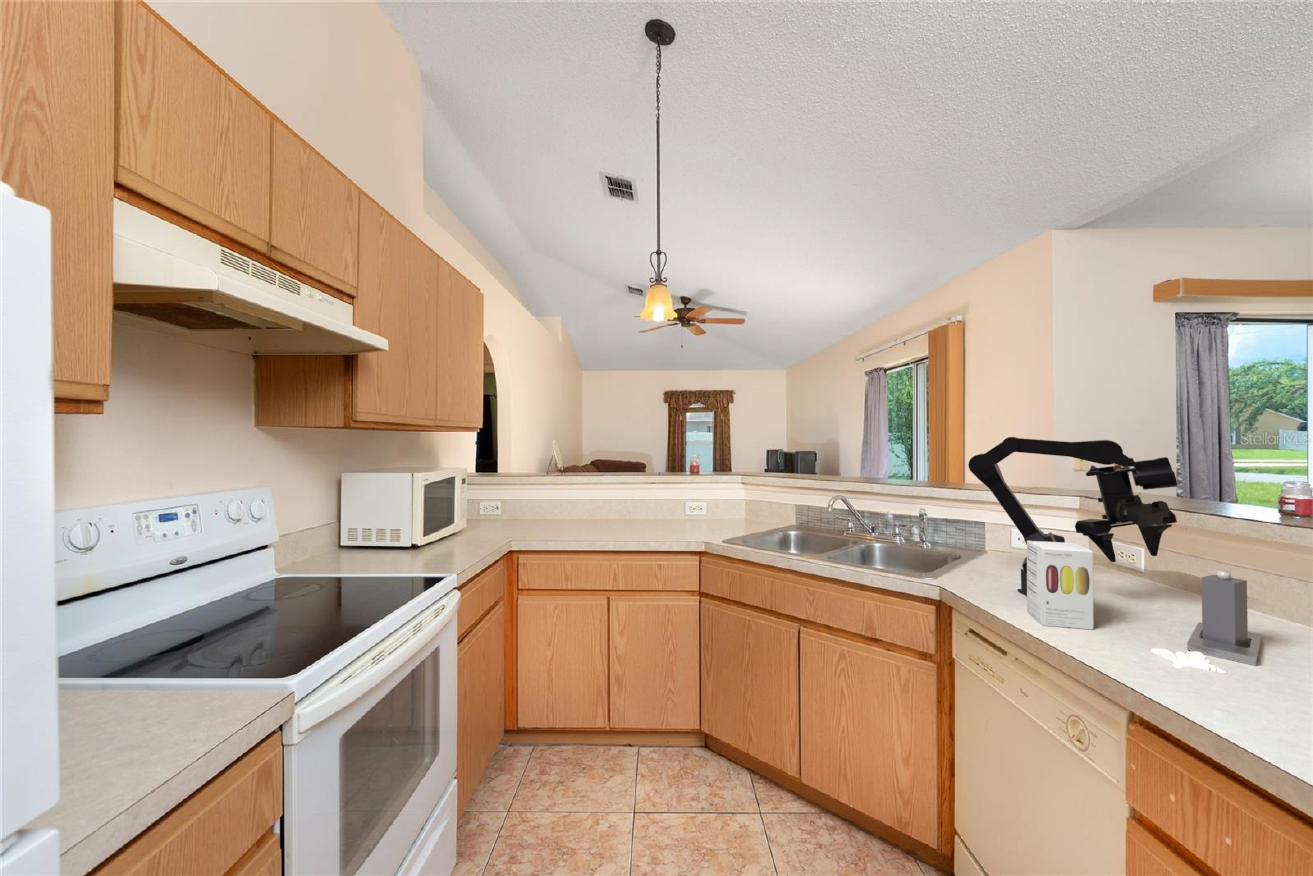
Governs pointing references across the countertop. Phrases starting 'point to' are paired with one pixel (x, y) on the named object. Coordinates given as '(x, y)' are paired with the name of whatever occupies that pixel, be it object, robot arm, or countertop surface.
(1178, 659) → the acanthus leaf ornament
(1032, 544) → the supplement box
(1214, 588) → the plug
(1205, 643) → the socket plate
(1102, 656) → the countertop surface
